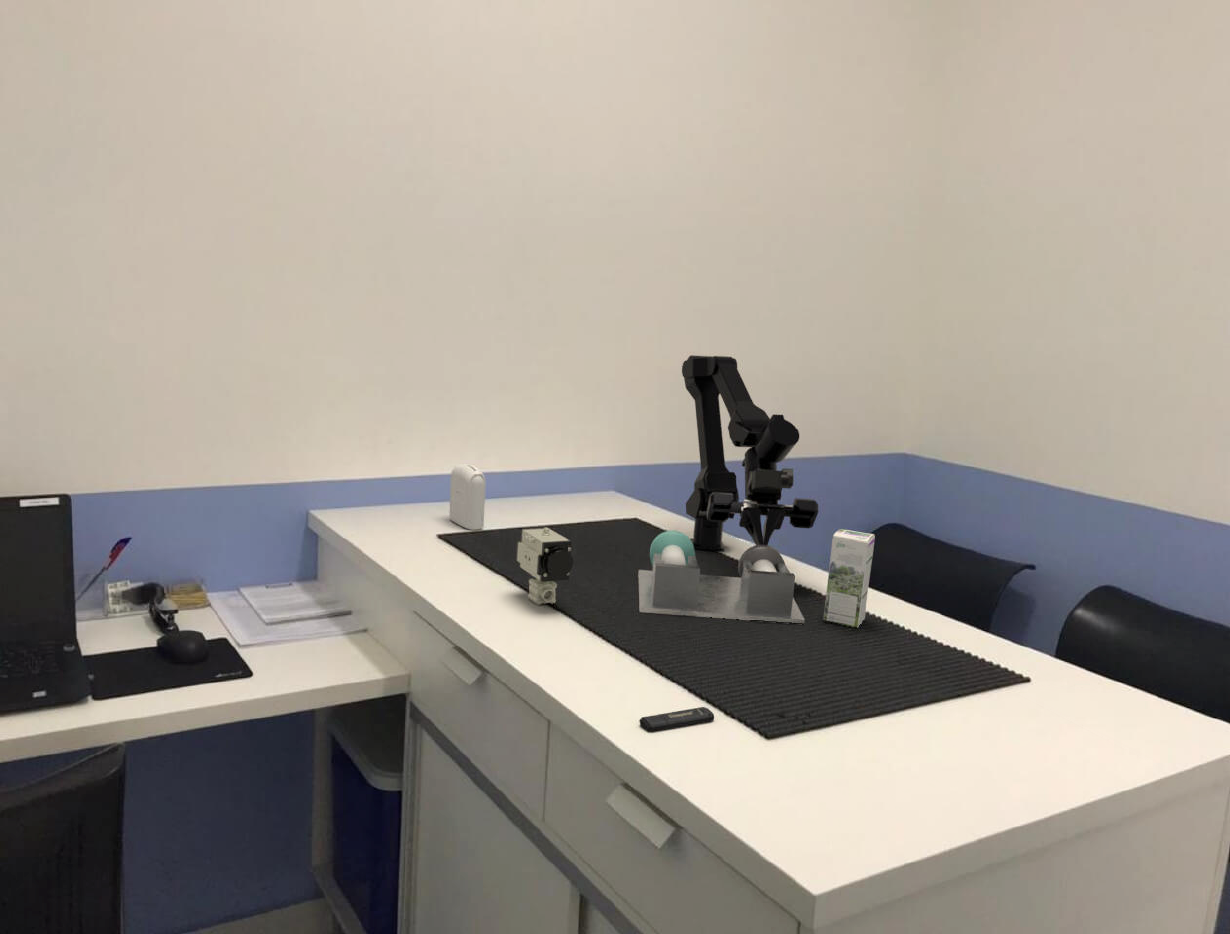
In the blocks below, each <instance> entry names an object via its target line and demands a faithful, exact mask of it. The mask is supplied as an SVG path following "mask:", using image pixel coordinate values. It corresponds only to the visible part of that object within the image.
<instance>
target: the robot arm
mask: <svg viewBox="0 0 1230 934" xmlns="http://www.w3.org/2000/svg"><path fill="white" fill-rule="evenodd" d="M681 375H682V377H683V379H684V386H685V389H686V391H687V392H688V393H689V395H690V396H691V397H692V399H693V400H694V405H695V406H694V407H695V416H696V427H697V428H696V429H697V438H698V439H697V440H698V449H699V461H700V471H699V473H698V475H697V477H696V479H695V481H694V483H693V489H694V490H693V492H692V493H691V495H690V497H689V498H688V499H687V500H686V502H685V512H686V513H685V514H686V515H688V516H690V517H692V518H693V519H694V527H693V538H689V539H690V540H691V542H692V544H693V546H694V550H696V549H697V550H710V551H711V550H712V551H725V546H724V544H723V543H724V542H723V541H722V540H723V531H724V523H725V522H727V520H728V519H734V517H735V514H739V517H740V519H739V524H738V525H739V527H741V528H743V529H745V530H746V531H747V533H748V534H749V535H750V537H751V538H752V540H753V542H754V545H768V546H769V542H770V538H771V537H772V535H773V534H774V531H776V530H777V531H778V530H781V528H782V526H783V522H784V519H785V517H787V518H789V524H790V525H791V526H792V527H793V528H796V529H797V528H799V529H811V528H813V527H814V525H815V522H816V520H817V519H816V518H817V516H818V514H819V504H818V502H817V501H816V500H815V499H813V498H800V497H799V498H798V497H794V500H793V502H792V505H791V504H779V501H781V499H782V490H783V489H790V490H791V488H792V487H793V486H794V468H785V467H783V468H782V469H781V470H778V467H777V465H778V464H777V463H781V462H783V461H784V460H785V459H786V457H788V456H789V453H790V452H791V451H792V449H793V448H794V447H795V446H796V444H797V443H798V442H799V440H800V431H799V429H798V428H797V427H796V426H795V425H794V424H793V423H791V422H790V421H788V420H787V419H785V417H784V415H783V414H772V415H771V416H770V417H769V415H768V414H767V413H766V410H764V409H762V408H761V407H758V406H757V405H756V404H755V403H754V401H753V399H752V397H751V395H750V393H749V391H748V389H747V388H748V387H746V384H745V383H744V380H743V378H742V376H741V374H740V371H739V370H738V362H737V360H736V358H733V357H732V356H726V355H725V356H724V355H723V356H721V355H713V356H712V355H711V356H709V355H689V357H688V358H687V359H686V360H685V361H683V362H682V366H681ZM720 396H721V398H722V402H723V404H724V406H725V408H726V410H727V412H728V415H729V419H730V420H729V422H728V425H727V430H728V435H729V438H730V440H731V443H732V444H733V446H734V447H735V448H736V447H737V448H748V449H747V450H746V451H745V452H744V458H743V461H742V463H741V467H744V491H745V492H744V498H745V499H743V500H742V501H740V496H739V489H738V486H737V475H736V473H735V472H734V471H730V470H729V469H728V467H727V466H726V460H725V459H726V458H725V451H724V441H723V440H724V439H723V437H724V436H723V430H722V421H721V420H722V418H721V409H720V408H721V407H720ZM762 516H764V517H765V521H764V524H763V529H762V521H761V519H762V518H761V517H762Z"/></svg>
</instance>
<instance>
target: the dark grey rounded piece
mask: <svg viewBox="0 0 1230 934" xmlns="http://www.w3.org/2000/svg"><path fill="white" fill-rule="evenodd" d="M743 560H747V561H751V563H752V566H753V568H754V570H755V571H767V572H777V565H778V563H785V564H786V562H785V560H784V558H783V557H782V554H781V553H780V552H779V551H778V550H777V549H776V548H774V547H773V546H770V545H769V544H768V545H756V544H754V545H752V546H751V547H748V548H747V549H746V550H744V552H743V553H742V554H741V555H740V558H739V561H738V564H737V565H738V566H737V567H738V569H737V570H738V573H739V578H741V577H742V567H743Z"/></svg>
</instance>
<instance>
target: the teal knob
mask: <svg viewBox="0 0 1230 934" xmlns="http://www.w3.org/2000/svg"><path fill="white" fill-rule="evenodd" d="M690 539H691V538H689V536H687V535H686V534H685V533H683V532H681V531H678V530H666V531H663V532H661V533H659V534H658V535H656V537H654V539H653V541H652V542H651V545H650V549H649V558H650V564H651V565H652V567H653V559H654V553H655V554H661V558H662V564H675V565H688V556H694V557H696V551H695V550H696V549H695V548H694V546H693V544H692V542H691V540H690Z"/></svg>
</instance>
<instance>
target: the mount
mask: <svg viewBox="0 0 1230 934" xmlns="http://www.w3.org/2000/svg"><path fill="white" fill-rule="evenodd" d="M637 577H638V604H639V613H648V614H658V615H673V616H684V615H685V617H686V616H688V617H696V618H697V617H699V618H710V617H712V618H713V619H723V618H725V619H727V620H736V619H739V621H750V620H764V621H777V622H792V623H794V622H795V623H804V624H805V621H806V619H805V618H804V616H803V613H802V612H801V610H800V608H799V605H798V604H797V603H796V601H795V598H794V592H795V591H794V590H795V584H796V583H795V582H796V574H795V573H792V572H791V571H790V570H789V568H788V566H787V564H786V562H785V563H778V565H777V572H767V571H755V570H754V568H753V566H752V563H751V561H747V560H743V567H742V577H740V576H739V577H737V576H736V577H735V576H727V575H726V576H724V575H723V576H722V575H714V574H713V575H711V574H710V575H709V574H701V568H700V565H698V561H697V557H696V556H695V557H694V556H688V565H675V564H662V558H661V554H655V553H654V559H653V566H652V570H645V569H639V570H638V576H637ZM712 618H711V619H712Z"/></svg>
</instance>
